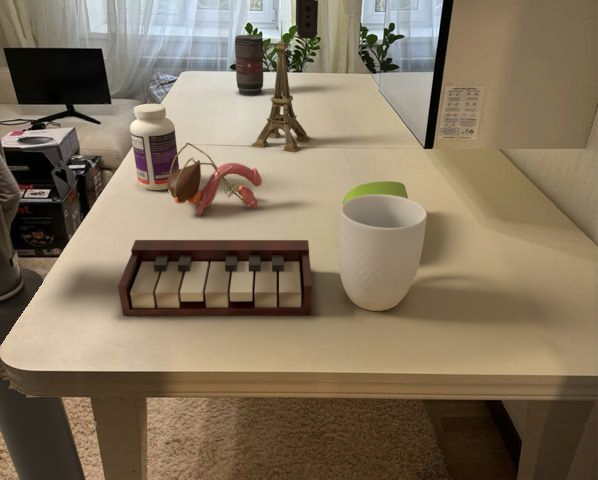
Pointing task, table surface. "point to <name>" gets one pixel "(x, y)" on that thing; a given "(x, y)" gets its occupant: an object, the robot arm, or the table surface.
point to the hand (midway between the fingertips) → (305, 31)
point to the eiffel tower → (284, 100)
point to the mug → (379, 248)
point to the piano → (217, 277)
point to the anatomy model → (209, 183)
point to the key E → (195, 282)
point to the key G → (242, 283)
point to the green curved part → (377, 190)
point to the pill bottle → (153, 146)
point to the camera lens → (249, 64)
